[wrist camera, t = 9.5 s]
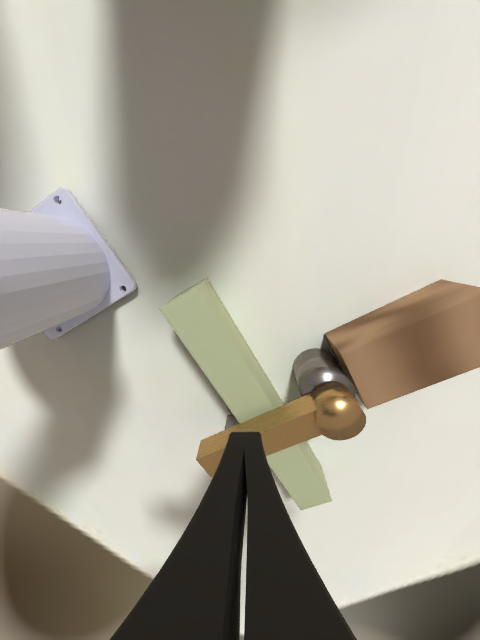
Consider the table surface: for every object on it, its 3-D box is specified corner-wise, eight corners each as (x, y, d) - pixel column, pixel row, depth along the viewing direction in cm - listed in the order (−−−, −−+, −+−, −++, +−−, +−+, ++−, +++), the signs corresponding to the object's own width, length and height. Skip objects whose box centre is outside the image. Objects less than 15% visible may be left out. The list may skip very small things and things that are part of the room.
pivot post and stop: (233, 425, 22) (228, 476, 17) (210, 393, 21) (198, 439, 16) (344, 379, 19) (374, 424, 15) (325, 341, 18) (351, 376, 14)
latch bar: (340, 374, 15) (355, 396, 13) (356, 404, 15) (372, 429, 13) (198, 437, 17) (190, 463, 15) (217, 460, 18) (212, 489, 16)
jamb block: (346, 379, 19) (367, 409, 16) (324, 333, 18) (341, 354, 15) (456, 334, 18) (506, 357, 14) (441, 279, 16) (491, 289, 13)
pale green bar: (294, 473, 24) (300, 510, 20) (175, 296, 18) (159, 308, 14) (320, 464, 23) (332, 501, 20) (207, 278, 17) (197, 286, 14)
